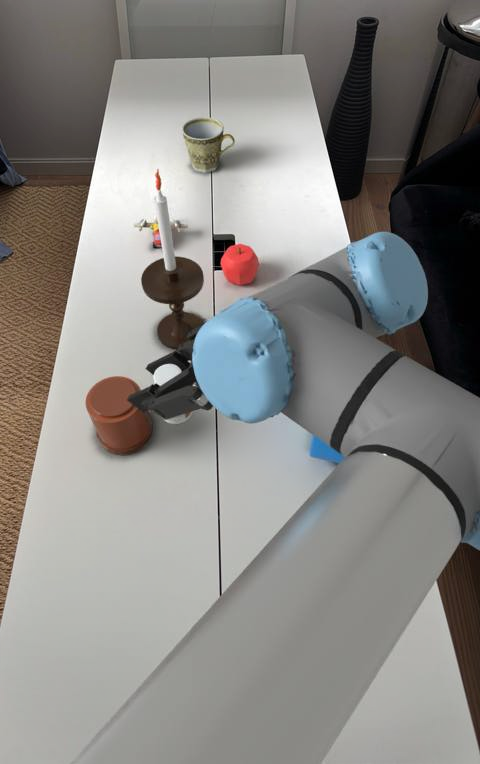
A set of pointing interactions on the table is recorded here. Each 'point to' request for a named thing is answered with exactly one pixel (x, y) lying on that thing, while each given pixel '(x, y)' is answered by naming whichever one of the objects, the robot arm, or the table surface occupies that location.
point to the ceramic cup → (204, 142)
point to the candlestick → (172, 281)
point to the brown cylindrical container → (118, 416)
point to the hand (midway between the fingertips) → (145, 388)
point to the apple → (239, 264)
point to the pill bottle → (163, 376)
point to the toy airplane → (155, 226)
